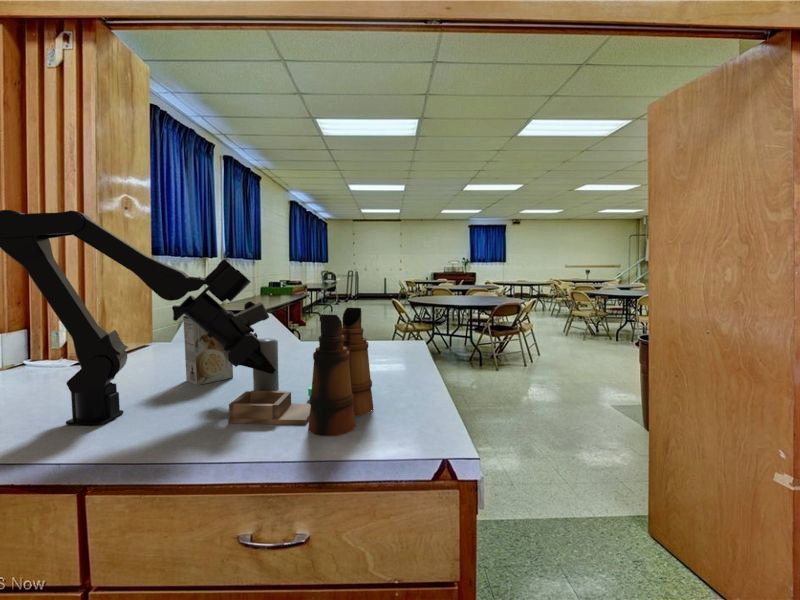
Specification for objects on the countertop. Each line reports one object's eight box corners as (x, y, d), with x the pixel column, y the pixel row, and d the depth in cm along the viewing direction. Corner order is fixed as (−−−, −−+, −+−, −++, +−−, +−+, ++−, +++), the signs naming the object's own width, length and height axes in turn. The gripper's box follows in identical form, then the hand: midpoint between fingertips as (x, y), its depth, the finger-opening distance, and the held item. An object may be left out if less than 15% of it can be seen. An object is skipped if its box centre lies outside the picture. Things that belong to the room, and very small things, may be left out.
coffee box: (221, 373, 113) (220, 312, 112) (233, 378, 109) (232, 314, 108) (185, 380, 106) (182, 315, 105) (196, 385, 102) (193, 317, 101)
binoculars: (341, 400, 92) (341, 305, 90) (379, 404, 89) (379, 306, 88) (299, 433, 74) (297, 315, 72) (344, 438, 72) (343, 317, 70)
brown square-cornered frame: (228, 423, 78) (227, 405, 78) (247, 406, 87) (246, 390, 87) (305, 424, 78) (305, 406, 78) (316, 407, 87) (316, 391, 87)
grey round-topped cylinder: (249, 404, 89) (248, 342, 88) (258, 396, 94) (257, 337, 93) (274, 404, 89) (273, 342, 88) (282, 397, 94) (281, 338, 93)
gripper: (246, 292, 79) (308, 348, 84) (241, 287, 96) (293, 333, 101) (199, 337, 77) (266, 392, 82) (203, 324, 94) (258, 370, 99)
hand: (272, 369), depth 91 cm, fingers closed on grey round-topped cylinder, 5 cm apart
